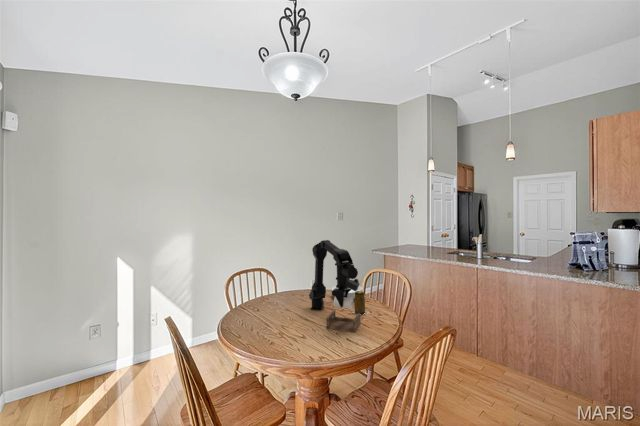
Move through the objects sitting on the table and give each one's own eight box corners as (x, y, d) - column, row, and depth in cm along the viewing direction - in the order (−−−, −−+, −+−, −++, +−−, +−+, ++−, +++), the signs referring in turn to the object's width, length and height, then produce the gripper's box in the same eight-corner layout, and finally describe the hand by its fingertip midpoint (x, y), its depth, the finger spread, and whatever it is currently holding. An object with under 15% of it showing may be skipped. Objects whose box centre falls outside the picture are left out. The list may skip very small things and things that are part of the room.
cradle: (326, 328, 154) (326, 317, 154) (333, 320, 164) (333, 310, 164) (355, 332, 148) (355, 321, 148) (360, 323, 159) (360, 313, 158)
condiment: (359, 309, 180) (359, 289, 180) (370, 313, 173) (370, 292, 173) (351, 312, 175) (350, 292, 175) (361, 316, 169) (361, 295, 168)
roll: (333, 308, 156) (332, 299, 155) (336, 303, 161) (335, 294, 159) (351, 310, 152) (350, 301, 151) (353, 304, 157) (353, 296, 156)
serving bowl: (357, 292, 214) (357, 283, 214) (367, 301, 194) (366, 291, 193) (328, 294, 211) (328, 285, 210) (335, 304, 190) (335, 293, 190)
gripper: (352, 280, 144) (353, 312, 144) (361, 271, 161) (362, 300, 162) (330, 279, 148) (331, 310, 148) (341, 270, 165) (342, 299, 166)
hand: (343, 305), depth 156 cm, fingers closed on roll, 5 cm apart
